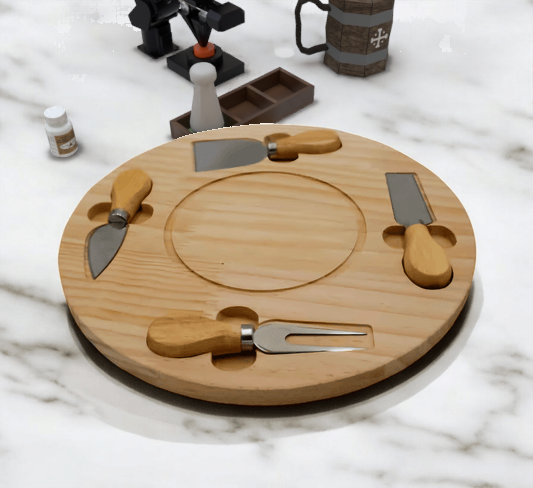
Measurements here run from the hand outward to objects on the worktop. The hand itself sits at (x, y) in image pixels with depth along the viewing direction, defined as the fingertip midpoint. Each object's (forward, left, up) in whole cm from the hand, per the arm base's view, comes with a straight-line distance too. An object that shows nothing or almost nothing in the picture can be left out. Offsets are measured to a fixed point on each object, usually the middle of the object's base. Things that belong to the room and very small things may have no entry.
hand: (203, 46), depth 125 cm
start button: (0, 0, -2) cm, 2 cm away
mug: (+16, +22, -5) cm, 28 cm away
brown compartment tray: (+18, -6, -5) cm, 20 cm away
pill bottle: (+4, -34, -5) cm, 35 cm away
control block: (0, 0, -5) cm, 5 cm away
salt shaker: (+18, -14, -5) cm, 23 cm away
